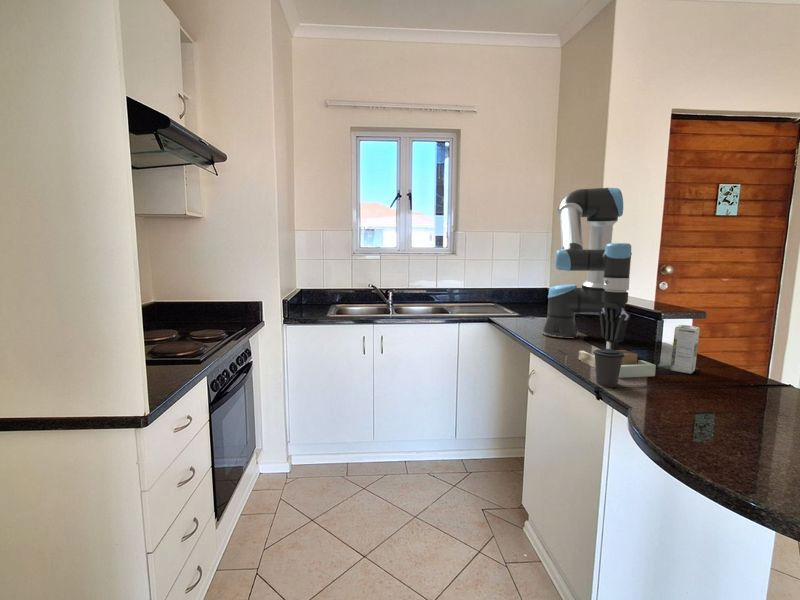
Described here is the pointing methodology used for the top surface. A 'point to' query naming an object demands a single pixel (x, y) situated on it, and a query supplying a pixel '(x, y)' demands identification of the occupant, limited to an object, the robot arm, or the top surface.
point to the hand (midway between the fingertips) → (610, 360)
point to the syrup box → (685, 348)
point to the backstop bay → (637, 370)
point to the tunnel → (587, 358)
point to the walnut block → (628, 358)
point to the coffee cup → (607, 366)
